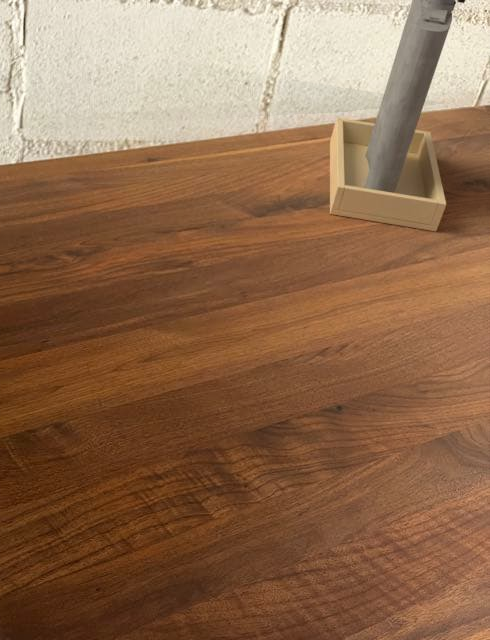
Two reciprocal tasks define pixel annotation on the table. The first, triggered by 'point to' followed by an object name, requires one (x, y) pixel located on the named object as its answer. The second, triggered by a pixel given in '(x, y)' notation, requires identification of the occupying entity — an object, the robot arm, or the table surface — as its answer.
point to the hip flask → (407, 90)
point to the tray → (392, 208)
